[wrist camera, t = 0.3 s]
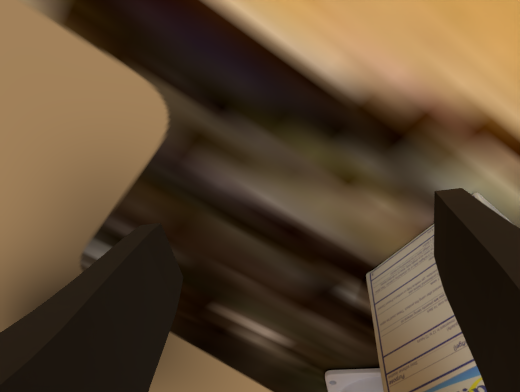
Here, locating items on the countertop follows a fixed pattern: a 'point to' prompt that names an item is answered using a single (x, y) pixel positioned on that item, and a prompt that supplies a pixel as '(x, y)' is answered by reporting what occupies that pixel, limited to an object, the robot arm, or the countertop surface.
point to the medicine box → (419, 323)
